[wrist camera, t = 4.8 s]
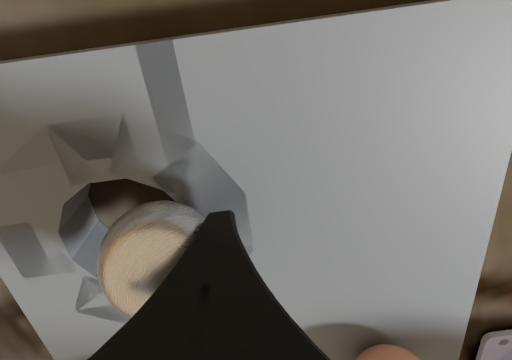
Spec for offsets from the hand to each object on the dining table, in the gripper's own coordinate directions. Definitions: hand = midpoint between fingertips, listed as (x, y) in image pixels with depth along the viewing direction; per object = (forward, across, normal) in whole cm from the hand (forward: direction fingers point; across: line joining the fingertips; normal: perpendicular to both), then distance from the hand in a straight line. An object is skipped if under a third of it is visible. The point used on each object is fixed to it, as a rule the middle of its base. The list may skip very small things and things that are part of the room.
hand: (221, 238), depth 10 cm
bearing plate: (+4, -1, +4) cm, 5 cm away
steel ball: (0, +2, 0) cm, 2 cm away
